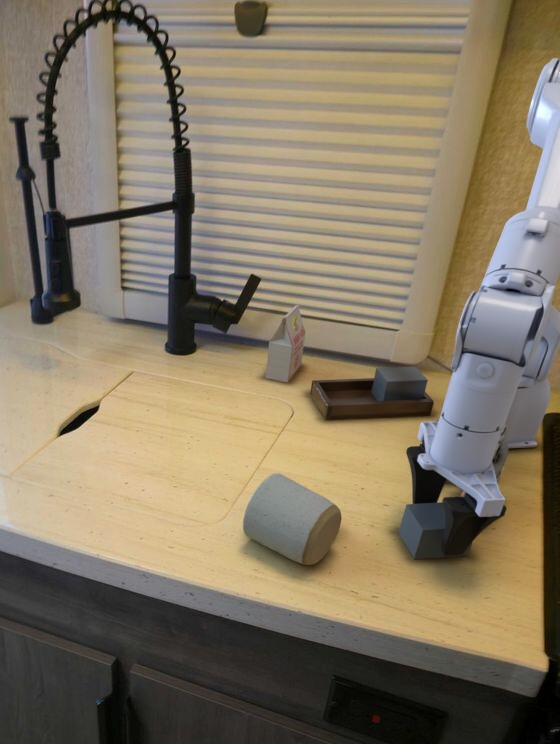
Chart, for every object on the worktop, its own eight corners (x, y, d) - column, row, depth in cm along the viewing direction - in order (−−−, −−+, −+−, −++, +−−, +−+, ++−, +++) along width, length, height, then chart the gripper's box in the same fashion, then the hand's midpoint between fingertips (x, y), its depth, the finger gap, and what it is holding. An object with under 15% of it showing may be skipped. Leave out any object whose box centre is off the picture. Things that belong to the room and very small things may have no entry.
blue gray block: (449, 529, 75) (459, 501, 72) (467, 556, 71) (478, 526, 69) (398, 532, 74) (406, 504, 72) (413, 559, 70) (422, 530, 68)
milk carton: (265, 377, 105) (271, 316, 99) (279, 361, 110) (286, 302, 104) (287, 382, 104) (295, 320, 98) (300, 366, 109) (309, 306, 103)
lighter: (479, 531, 74) (506, 455, 68) (448, 521, 76) (472, 446, 70) (493, 496, 80) (520, 423, 74) (464, 487, 81) (488, 415, 75)
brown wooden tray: (408, 390, 102) (415, 361, 99) (430, 415, 96) (438, 385, 93) (309, 394, 101) (314, 364, 98) (325, 420, 94) (330, 389, 91)
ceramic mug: (304, 582, 67) (315, 522, 63) (238, 548, 71) (244, 489, 67) (353, 534, 74) (366, 476, 69) (290, 505, 78) (299, 449, 73)
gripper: (403, 385, 68) (377, 492, 77) (467, 460, 57) (428, 577, 65) (468, 383, 69) (435, 489, 77) (544, 457, 58) (496, 573, 66)
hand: (436, 530), depth 71 cm, fingers open, 7 cm apart
